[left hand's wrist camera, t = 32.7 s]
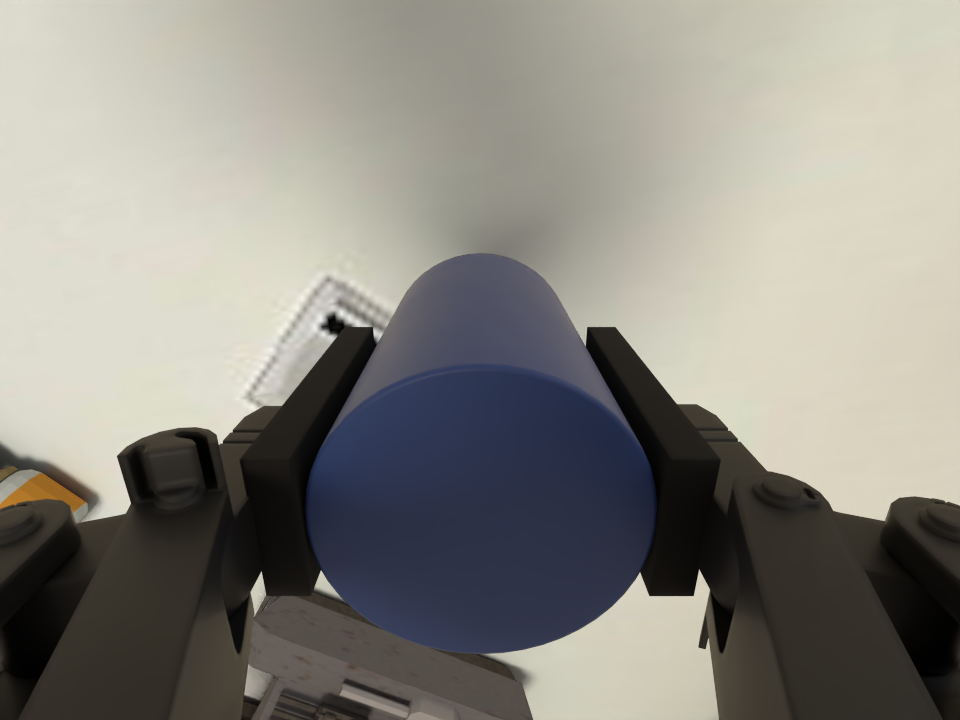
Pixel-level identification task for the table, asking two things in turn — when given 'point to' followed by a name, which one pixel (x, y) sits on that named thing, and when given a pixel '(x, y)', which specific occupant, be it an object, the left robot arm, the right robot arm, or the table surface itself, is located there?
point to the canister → (481, 471)
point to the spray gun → (36, 490)
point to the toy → (368, 670)
